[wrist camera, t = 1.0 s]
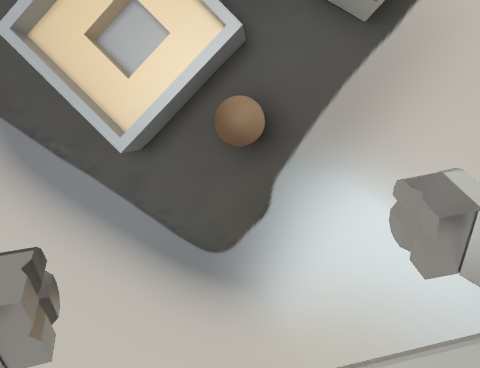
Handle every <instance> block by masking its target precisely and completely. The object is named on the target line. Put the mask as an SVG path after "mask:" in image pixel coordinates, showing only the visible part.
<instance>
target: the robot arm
mask: <svg viewBox="0 0 480 368" xmlns="http://www.w3.org/2000/svg"><path fill="white" fill-rule="evenodd" d="M393 195H394V197H395V198H396V199H397V202H396V203H395V205H394V206H393V207H392V208H391V210H390V219H389V222H390V227H391V232H392V234H393V237H394V238H395V240H396V242H397V243H398V244H399V246H400V247H402V248H404V249H406V250H408V251H410V252H411V256H410V260H411V262H412V263H413V264H414V266H415V267H416V268H417V270H418V271H419V272H420V274H421V275H422V276H423V277H424V279H431V278H436V277H441V276H447V275H452V274H457V273H460V275H461V276H462V277H464V278H466V279H467V280H469V281H471V282H472V283H474V284H476V285H478V286H479V287H480V184H479V183H478V182H477V181H476V180H475V179H473V178H472V177H471V176H470V175H469V174H467V173H466V172H465V171H464V170H462V169H459V168H454V169H449V170H444V171H440V172H437V173H433V174H428V175H423V176H417V177H412V178H407V179H401V180H397V182H396V184H395V186H394V191H393ZM46 262H47V260H46V258H45V256H44V254H43V252H42V250H41V249H40V248H38V247H34V248H27V249H21V250H15V251H9V252H3V253H0V368H27V367H31V366H35V365H39V364H43V363H47V362H51V361H52V355H53V349H54V343H55V336H56V334H55V332H54V330H53V328H52V324H53V323H54V322H55V321H56V320H57V318H58V317H59V309H60V302H59V301H60V300H59V291H58V287H57V283H56V281H55V278H54V276H53V275H52V274H50V273H48V272H47V271H45V267H46ZM338 368H480V334H475V335H471V336H467V337H463V338H459V339H454V340H450V341H446V342H442V343H438V344H434V345H429V346H425V347H421V348H417V349H413V350H409V351H405V352H401V353H396V354H392V355H388V356H384V357H380V358H376V359H372V360H367V361H364V362H360V363H355V364H351V365H347V366H343V367H338Z"/></svg>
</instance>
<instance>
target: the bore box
mask: <svg viewBox="0 0 480 368" xmlns="http://www.w3.org/2000/svg"><path fill="white" fill-rule="evenodd" d="M0 34H1V35H2V36H3V37H4V38H5V39H6V40H7V41H8V42H9V43H10V44H11V45H12V46H13V47H14V48H15V49H16V50H17V51H18V52H19V53H20V54H21V55H22V56H23V57H24V58H25V59H26V60H27V61H28V62H29V63H30V64H31V65H32V66H33V67H34V68H35V69H36V70H37V71H38V72H39V73H40V74H41V75H42V76H43V77H44V78H45V79H46V80H47V81H48V82H49V83H50V84H51V85H52V86H53V87H54V88H55V89H56V90H57V91H58V92H59V93H60V94H61V95H62V96H63V97H64V98H65V99H66V100H67V101H68V102H69V103H70V104H71V105H72V106H74V107H75V108H76V109H77V110H78V111H79V112H80V113H81V114H82V115H83V116H84V117H85V118H86V119H87V120H88V121H89V122H90V123H91V124H92V125H93V126H94V127H95V128H96V129H97V130H98V131H99V132H100V133H101V134H102V135H103V136H104V137H105V138H106V139H107V140H108V141H109V142H110V143H111V144H112V145H113V146H114V147H115V148H116V149H117V150H118V151H119V152H120V153H124V152H130V151H136V150H142V149H143V148H144V147H145V146H146V145H147V144H148V142H149V141H150V140H151V139H152V138H153V137H154V136H155V135H156V134H157V133H158V132H159V131H160V130H161V129H162V128H163V127H164V126H165V125H166V124H167V123H168V122H169V121H170V119H171V118H172V117H173V116H174V115H175V114H176V113H177V112H178V111H179V110H180V109H181V108H182V107H183V106H184V105H185V104H186V103H187V102H188V101H189V100H190V99H191V98H192V97H193V95H194V94H195V93H196V92H197V91H198V90H199V89H200V88H201V87H202V86H203V85H204V84H205V83H206V82H207V81H208V80H209V79H210V78H211V77H212V76H213V75H214V74H215V72H216V71H217V70H218V69H219V68H220V67H221V66H222V65H223V64H224V63H225V62H226V61H227V60H228V59H229V58H230V57H231V56H232V55H233V54H234V53H235V52H236V51H237V50H238V48H239V47H240V46H241V45H242V44H243V43H244V42H245V41H246V37H245V33H244V28H243V25H242V24H241V23H240V21H239V20H238V19H237V18H236V17H235V16H234V15H233V14H232V13H231V12H230V11H229V10H228V9H227V8H226V7H225V6H224V5H223V4H222V3H221V2H220V1H219V0H18V1H17V3H16V4H15V5H14V6H13V7H12V8H11V10H10V11H9V12H8V13H7V14H6V15H5V17H4V18H3V19H2V20H1V21H0Z"/></svg>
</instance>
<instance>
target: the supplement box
mask: <svg viewBox="0 0 480 368" xmlns="http://www.w3.org/2000/svg"><path fill="white" fill-rule="evenodd" d="M328 1H329V2H331V3H333V4H335V5H337V6H338V7H340V8H342V9H344V10H345V11H347V12H349V13H350V14H352V15H354V16H355V17H357V18H359V19H360V20H362V21H364V22H365V21H366V20H367V19H368V18H369V17H370V16H371V15H372V14H373V13H374V12H375V10H376V9H377V8H378V7H379V6H380V5H381V4H382V3H383V2H384V1H385V0H328Z"/></svg>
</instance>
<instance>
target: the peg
mask: <svg viewBox="0 0 480 368" xmlns="http://www.w3.org/2000/svg"><path fill="white" fill-rule="evenodd" d="M214 124H215V129H216V131H217V133H218V135H219V137H220V138H221V139H222V140H223V141H225V142H226V143H228V144H230V145H233V146H246V145H249V144H251V143H253V142H254V141H256V140H257V139H258V138H259V137H260V135H261V134H262V133H263V131H264V128H265V118H264V114H263V111H262V109H261V107H260V106H259V104H258V103H257V102H256V101H254V100H253V99H251V98H249V97H246V96H233V97H230V98H228V99H226V100H225V101H223V102H222V103H221V104H220V105H219V107H218V109H217V111H216V113H215V118H214Z"/></svg>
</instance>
